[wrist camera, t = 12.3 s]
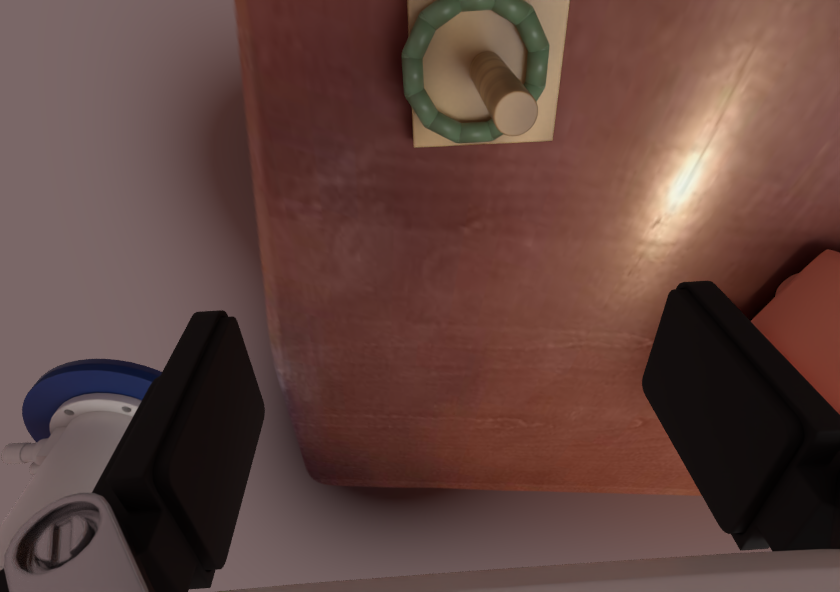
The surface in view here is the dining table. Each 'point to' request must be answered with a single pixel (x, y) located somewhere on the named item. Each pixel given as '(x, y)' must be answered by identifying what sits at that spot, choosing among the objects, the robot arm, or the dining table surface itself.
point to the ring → (447, 5)
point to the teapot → (809, 324)
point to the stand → (490, 73)
